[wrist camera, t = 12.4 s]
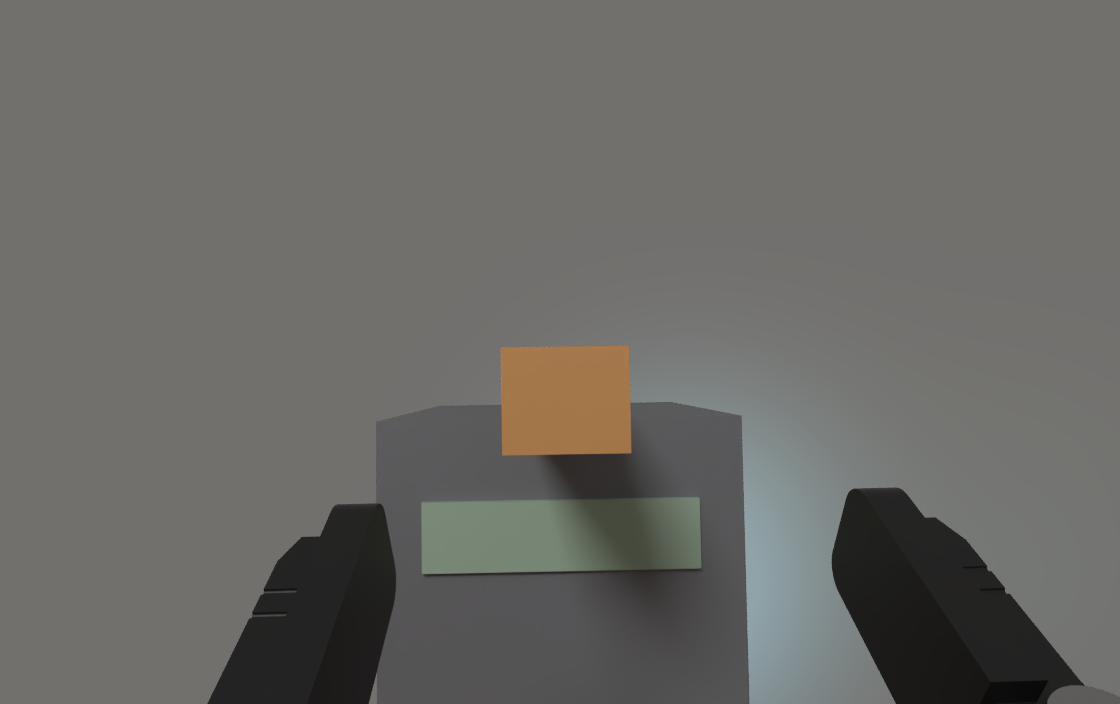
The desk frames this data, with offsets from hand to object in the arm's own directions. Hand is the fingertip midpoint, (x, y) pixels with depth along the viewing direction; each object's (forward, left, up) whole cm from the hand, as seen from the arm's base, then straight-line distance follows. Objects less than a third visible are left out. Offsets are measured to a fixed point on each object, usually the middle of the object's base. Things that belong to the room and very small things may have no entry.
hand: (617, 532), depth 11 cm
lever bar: (+4, +18, +1) cm, 18 cm away
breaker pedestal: (+6, +24, -31) cm, 40 cm away
